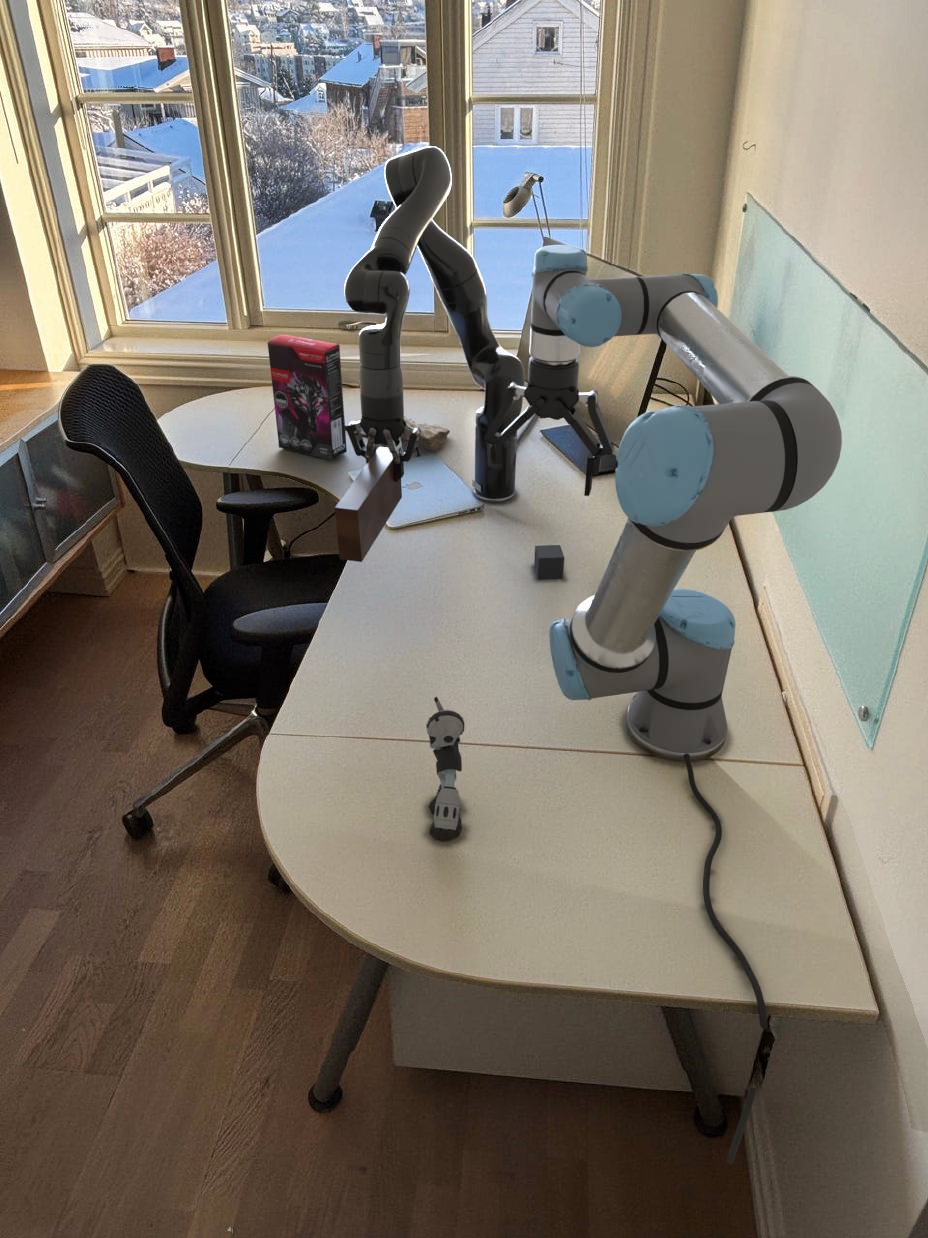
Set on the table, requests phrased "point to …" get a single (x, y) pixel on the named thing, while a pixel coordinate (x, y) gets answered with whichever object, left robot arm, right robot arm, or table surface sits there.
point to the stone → (427, 434)
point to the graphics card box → (308, 395)
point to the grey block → (549, 562)
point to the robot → (446, 772)
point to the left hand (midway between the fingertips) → (385, 478)
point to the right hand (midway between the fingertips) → (546, 487)
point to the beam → (367, 506)
